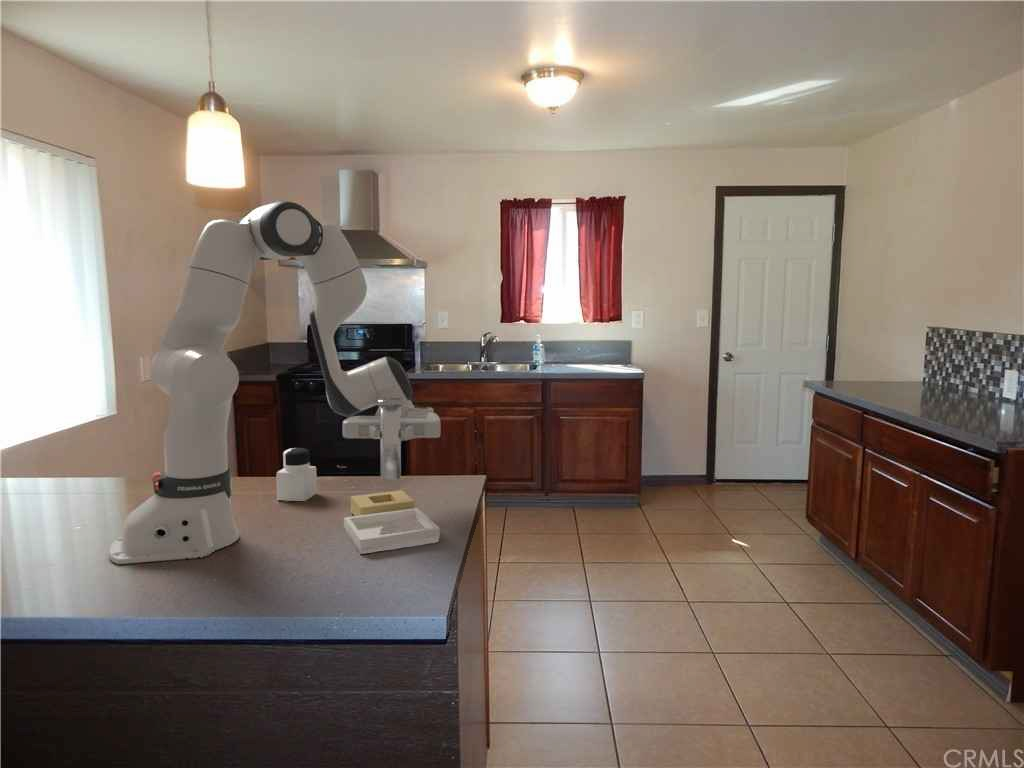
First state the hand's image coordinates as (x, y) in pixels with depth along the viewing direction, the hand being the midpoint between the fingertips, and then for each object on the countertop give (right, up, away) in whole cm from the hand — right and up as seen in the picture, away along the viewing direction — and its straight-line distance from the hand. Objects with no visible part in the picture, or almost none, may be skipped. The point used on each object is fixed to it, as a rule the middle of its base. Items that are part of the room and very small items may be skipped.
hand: (390, 434), depth 130 cm
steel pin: (0, -9, +2) cm, 9 cm away
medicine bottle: (-28, -18, +29) cm, 44 cm away
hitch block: (-5, -19, +16) cm, 26 cm away
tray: (-1, -21, +4) cm, 22 cm away
